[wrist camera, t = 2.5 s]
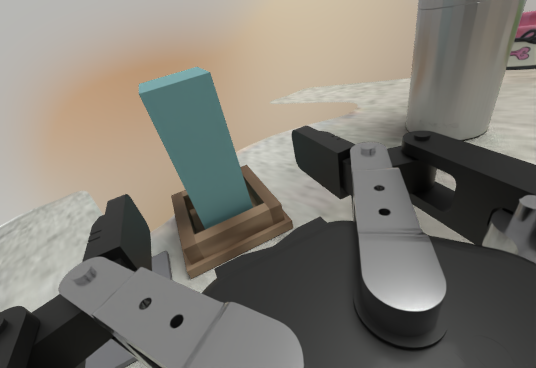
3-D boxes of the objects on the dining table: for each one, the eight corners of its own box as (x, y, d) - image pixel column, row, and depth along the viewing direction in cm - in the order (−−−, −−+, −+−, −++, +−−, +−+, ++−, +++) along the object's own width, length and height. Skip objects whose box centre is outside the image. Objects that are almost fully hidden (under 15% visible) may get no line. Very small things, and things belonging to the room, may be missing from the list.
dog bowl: (447, 71, 53) (453, 33, 49) (478, 48, 61) (486, 14, 57) (580, 71, 40) (603, 20, 36) (597, 42, 48) (617, -2, 44)
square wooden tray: (254, 181, 33) (248, 161, 31) (293, 227, 25) (288, 204, 23) (177, 214, 31) (166, 195, 29) (191, 278, 22) (177, 256, 21)
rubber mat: (168, 253, 25) (166, 250, 25) (180, 336, 18) (177, 333, 18) (72, 298, 23) (69, 295, 23) (43, 411, 16) (37, 409, 16)
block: (240, 193, 30) (197, 66, 22) (256, 216, 26) (209, 72, 18) (199, 211, 29) (138, 84, 21) (209, 238, 25) (138, 93, 17)
